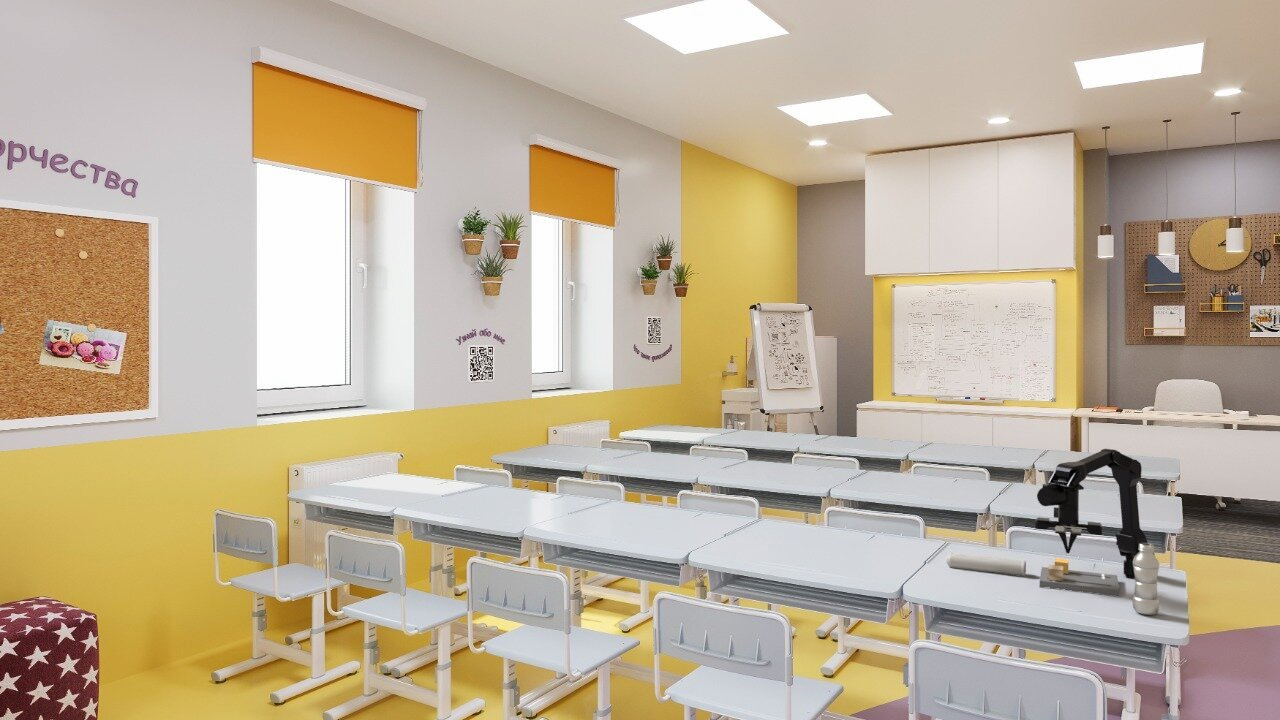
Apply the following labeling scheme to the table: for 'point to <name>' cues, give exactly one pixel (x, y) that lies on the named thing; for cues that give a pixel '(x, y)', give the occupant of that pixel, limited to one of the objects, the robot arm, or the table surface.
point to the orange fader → (1062, 564)
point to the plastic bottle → (1146, 580)
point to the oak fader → (1055, 572)
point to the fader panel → (1082, 582)
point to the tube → (987, 564)
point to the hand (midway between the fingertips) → (1067, 552)
